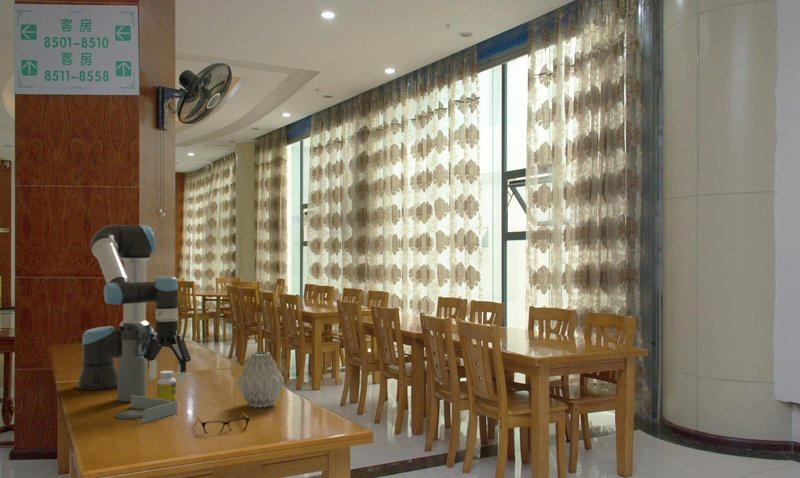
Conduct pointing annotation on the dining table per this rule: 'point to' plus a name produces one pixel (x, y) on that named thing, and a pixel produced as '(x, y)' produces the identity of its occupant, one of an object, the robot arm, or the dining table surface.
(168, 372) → the pill bottle
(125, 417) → the coaster
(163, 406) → the fence end
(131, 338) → the water bottle
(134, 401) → the fence long
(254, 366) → the vase
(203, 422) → the eyeglasses
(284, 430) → the dining table surface
